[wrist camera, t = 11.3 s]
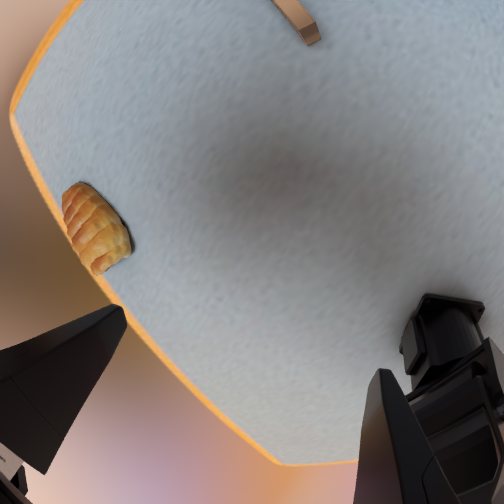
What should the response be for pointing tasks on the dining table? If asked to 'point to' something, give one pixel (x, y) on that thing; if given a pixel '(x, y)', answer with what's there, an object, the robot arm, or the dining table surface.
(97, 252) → the pastry
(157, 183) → the dining table surface
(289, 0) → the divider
